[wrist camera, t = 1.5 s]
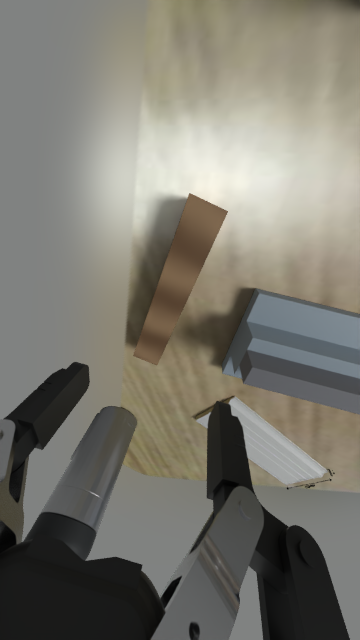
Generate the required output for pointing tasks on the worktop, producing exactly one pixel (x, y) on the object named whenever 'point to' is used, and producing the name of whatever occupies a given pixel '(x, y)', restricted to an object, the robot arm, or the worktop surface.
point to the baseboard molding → (271, 447)
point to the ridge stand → (298, 350)
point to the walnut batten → (179, 274)
